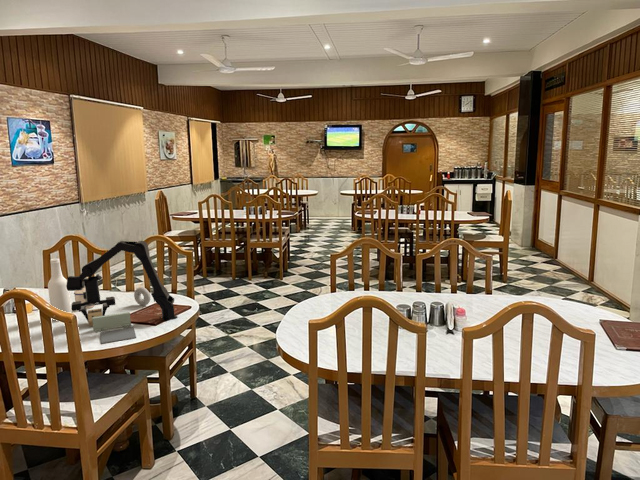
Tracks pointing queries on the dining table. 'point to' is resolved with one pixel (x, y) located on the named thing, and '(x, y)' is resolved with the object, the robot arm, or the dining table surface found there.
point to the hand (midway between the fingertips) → (95, 320)
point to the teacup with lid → (81, 297)
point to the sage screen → (111, 321)
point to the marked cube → (94, 315)
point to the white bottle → (58, 288)
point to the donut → (145, 293)
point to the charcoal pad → (117, 335)
